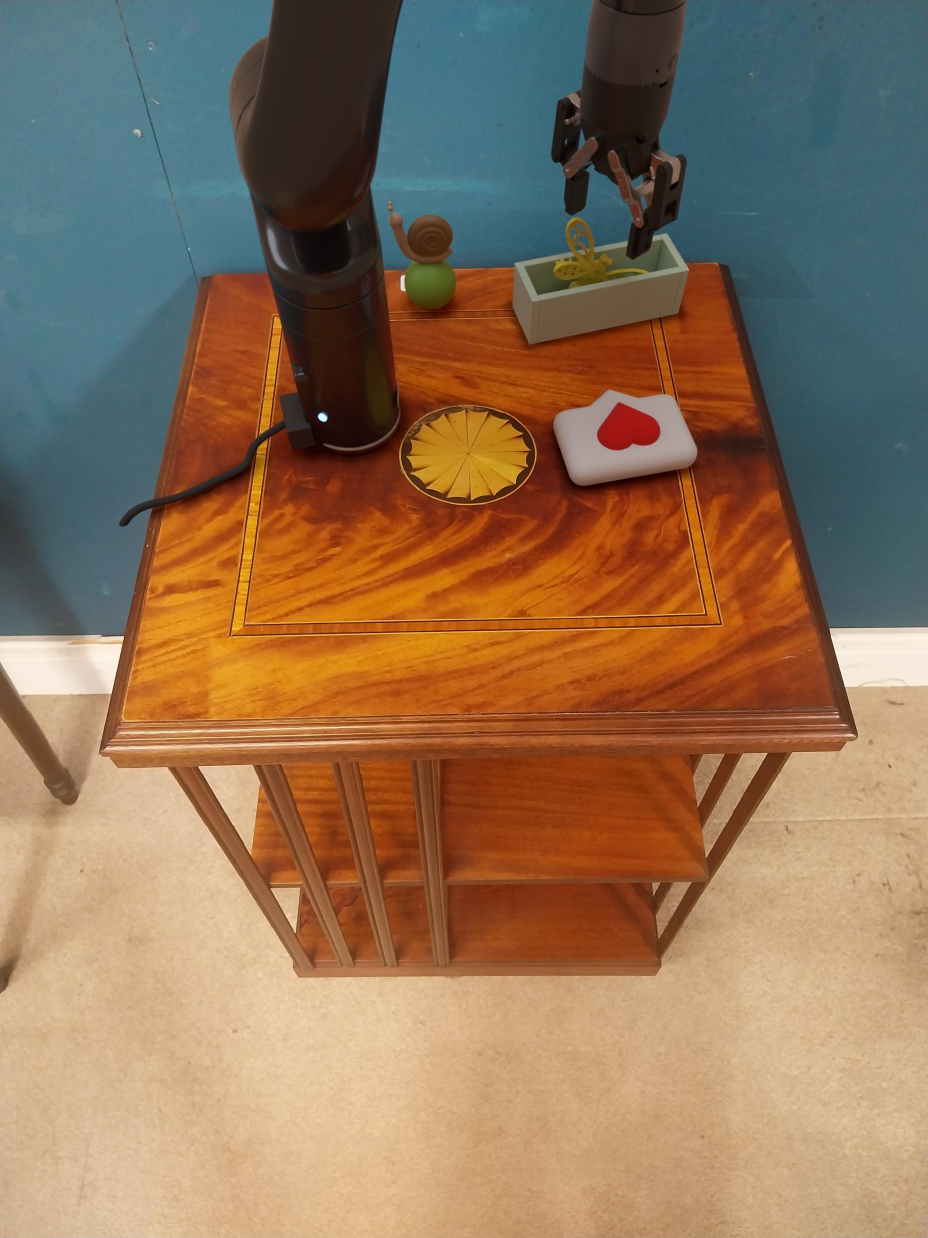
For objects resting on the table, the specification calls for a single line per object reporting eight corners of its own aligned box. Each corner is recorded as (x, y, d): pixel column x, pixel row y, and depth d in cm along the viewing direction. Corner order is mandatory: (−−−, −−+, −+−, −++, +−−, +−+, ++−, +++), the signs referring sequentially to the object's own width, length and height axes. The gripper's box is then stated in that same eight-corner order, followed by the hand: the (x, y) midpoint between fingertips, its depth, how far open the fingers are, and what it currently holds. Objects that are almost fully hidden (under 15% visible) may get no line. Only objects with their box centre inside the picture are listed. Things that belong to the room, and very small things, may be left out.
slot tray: (529, 344, 88) (532, 301, 83) (512, 306, 91) (514, 262, 86) (678, 313, 90) (689, 269, 85) (657, 276, 93) (666, 232, 88)
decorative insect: (586, 337, 95) (656, 274, 89) (592, 358, 93) (664, 295, 87) (503, 282, 87) (574, 209, 81) (508, 304, 85) (581, 231, 79)
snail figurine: (395, 288, 93) (385, 186, 82) (453, 283, 93) (451, 180, 82) (398, 323, 90) (388, 221, 79) (459, 318, 90) (456, 216, 80)
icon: (672, 362, 81) (708, 441, 76) (663, 394, 84) (697, 471, 80) (548, 382, 80) (576, 463, 75) (544, 414, 83) (571, 494, 79)
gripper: (538, 35, 70) (527, 212, 84) (662, 111, 65) (628, 287, 79) (604, 4, 72) (583, 182, 87) (729, 75, 67) (685, 253, 81)
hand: (604, 232), depth 83 cm, fingers open, 8 cm apart
